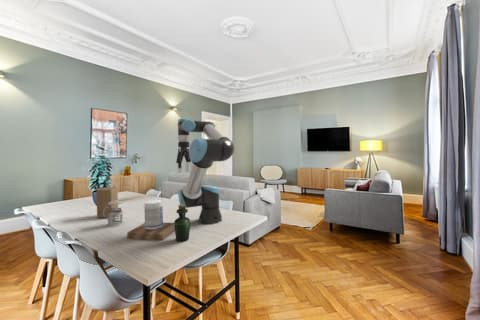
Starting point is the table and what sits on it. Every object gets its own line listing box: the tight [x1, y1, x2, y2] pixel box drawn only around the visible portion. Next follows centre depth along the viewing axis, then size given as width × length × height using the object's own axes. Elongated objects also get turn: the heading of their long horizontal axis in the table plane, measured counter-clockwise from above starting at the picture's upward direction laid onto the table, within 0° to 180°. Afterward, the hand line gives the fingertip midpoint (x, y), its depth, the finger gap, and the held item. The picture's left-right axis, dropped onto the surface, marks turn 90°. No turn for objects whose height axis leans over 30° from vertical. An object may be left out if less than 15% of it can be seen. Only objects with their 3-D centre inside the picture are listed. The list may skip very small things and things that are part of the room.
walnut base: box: [126, 222, 175, 241], centre depth 122 cm, size 20×18×3 cm
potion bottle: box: [173, 204, 191, 243], centre depth 112 cm, size 8×8×18 cm
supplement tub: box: [143, 199, 164, 230], centre depth 122 cm, size 10×10×15 cm
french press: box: [103, 184, 125, 228], centre depth 135 cm, size 10×12×25 cm
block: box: [96, 186, 119, 219], centre depth 153 cm, size 10×10×20 cm
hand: (184, 172), depth 151 cm, fingers open, 13 cm apart
